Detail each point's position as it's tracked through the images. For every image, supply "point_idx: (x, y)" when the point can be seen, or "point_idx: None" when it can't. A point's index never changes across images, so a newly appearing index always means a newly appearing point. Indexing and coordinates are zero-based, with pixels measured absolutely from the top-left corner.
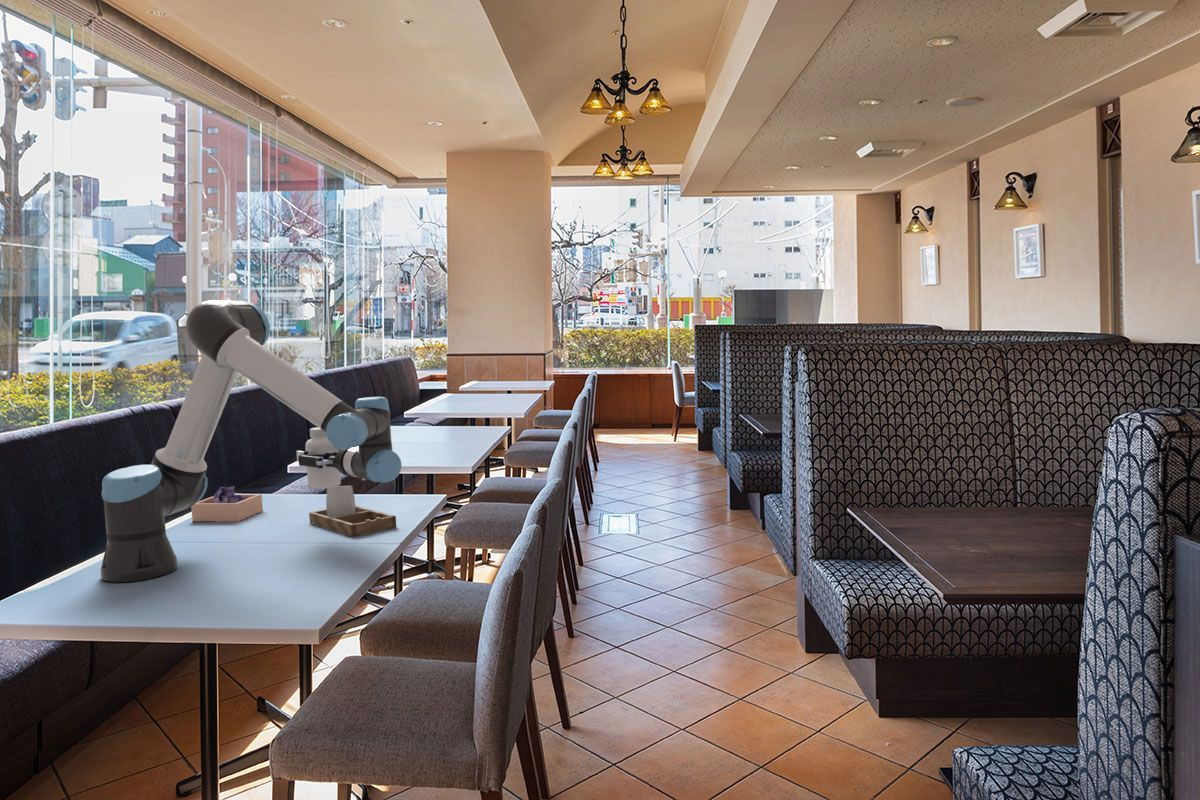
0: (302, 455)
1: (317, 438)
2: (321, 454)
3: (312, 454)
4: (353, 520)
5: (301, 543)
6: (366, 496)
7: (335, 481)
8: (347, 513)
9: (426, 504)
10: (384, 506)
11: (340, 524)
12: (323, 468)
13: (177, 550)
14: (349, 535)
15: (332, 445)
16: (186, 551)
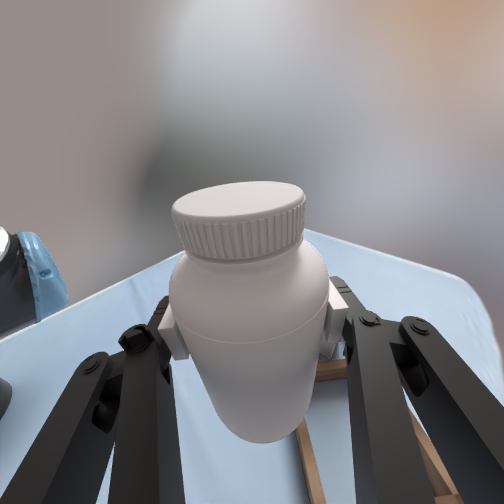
0: (88, 377)
1: (202, 266)
2: (136, 495)
3: (129, 398)
4: (332, 375)
5: (195, 469)
6: (354, 247)
7: (285, 432)
8: (324, 344)
9: (466, 318)
10: (382, 291)
11: (297, 429)
12: (230, 407)
13: (98, 335)
14: (310, 502)
15: (282, 342)
16: (94, 348)
